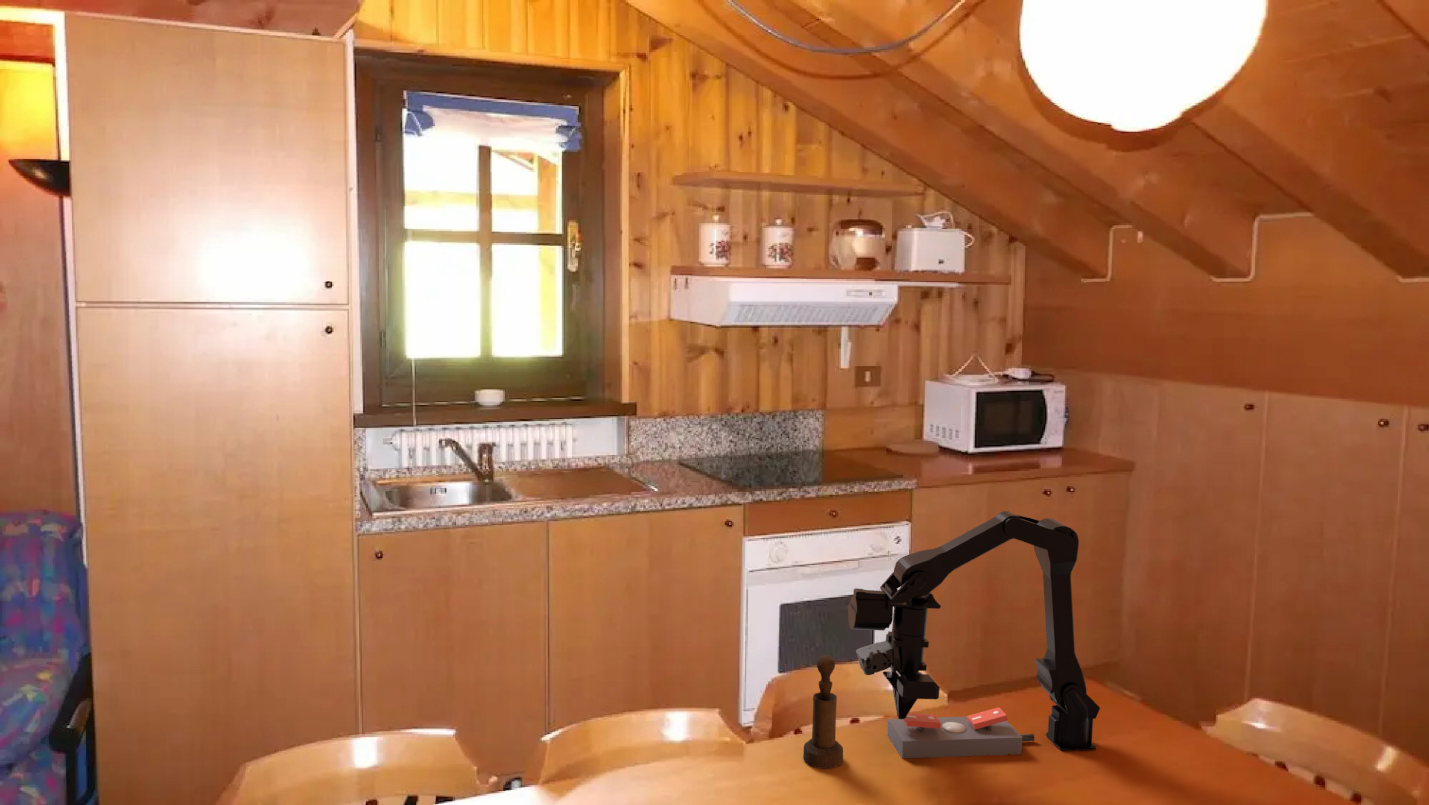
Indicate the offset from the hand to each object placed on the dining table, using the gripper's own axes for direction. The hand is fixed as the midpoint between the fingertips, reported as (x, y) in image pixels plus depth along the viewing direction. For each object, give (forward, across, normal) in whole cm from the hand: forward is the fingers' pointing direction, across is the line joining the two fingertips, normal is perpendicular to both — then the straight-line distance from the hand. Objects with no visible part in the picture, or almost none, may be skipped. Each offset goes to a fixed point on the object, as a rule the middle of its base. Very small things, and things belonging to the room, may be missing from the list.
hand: (900, 718), depth 176 cm
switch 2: (0, 0, +16) cm, 16 cm away
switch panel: (+5, 0, +12) cm, 13 cm away
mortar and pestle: (+6, +4, -14) cm, 16 cm away
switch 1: (+1, 0, +4) cm, 4 cm away
